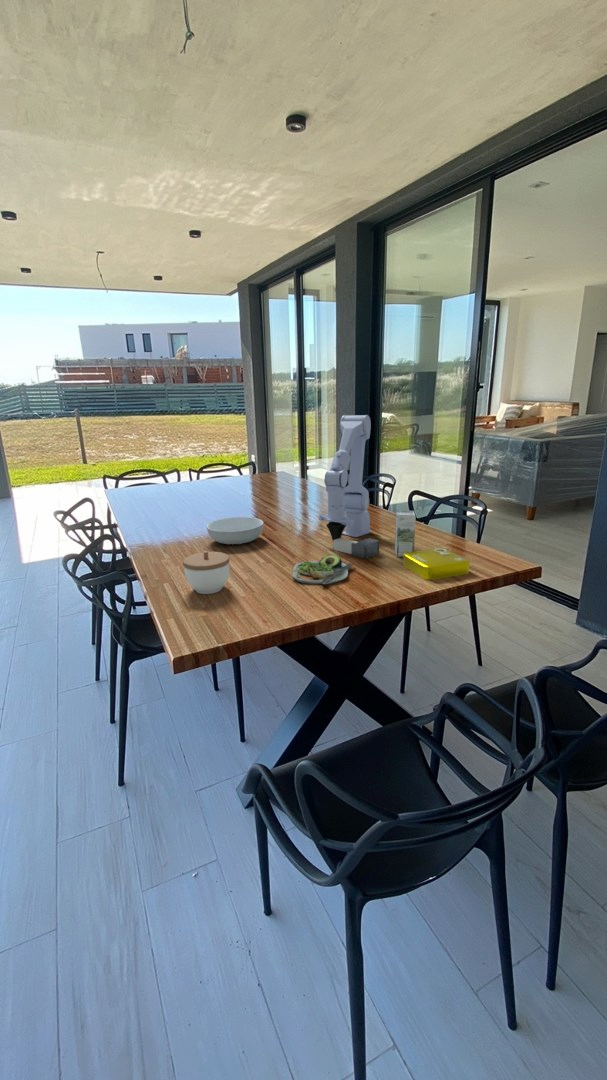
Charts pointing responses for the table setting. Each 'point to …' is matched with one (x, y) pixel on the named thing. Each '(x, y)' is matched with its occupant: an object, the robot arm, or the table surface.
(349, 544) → the gray rectangular block
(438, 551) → the element tile
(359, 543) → the dark gray block
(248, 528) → the serving bowl
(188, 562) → the lidded sugar bowl
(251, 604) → the table surface
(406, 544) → the syrup box
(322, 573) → the salad plate
